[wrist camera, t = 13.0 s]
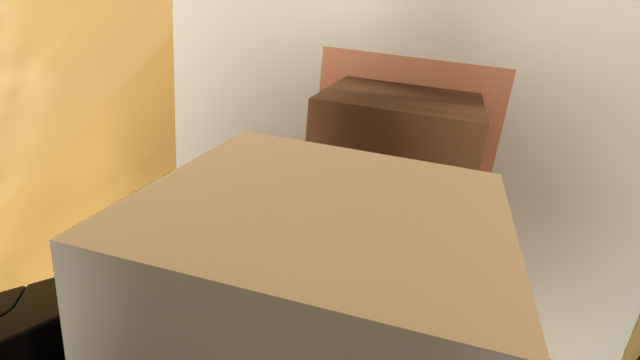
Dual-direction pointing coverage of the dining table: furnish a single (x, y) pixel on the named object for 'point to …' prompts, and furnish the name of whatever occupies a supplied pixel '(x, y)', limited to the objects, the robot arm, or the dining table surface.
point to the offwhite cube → (299, 262)
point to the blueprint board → (501, 106)
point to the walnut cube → (400, 121)
